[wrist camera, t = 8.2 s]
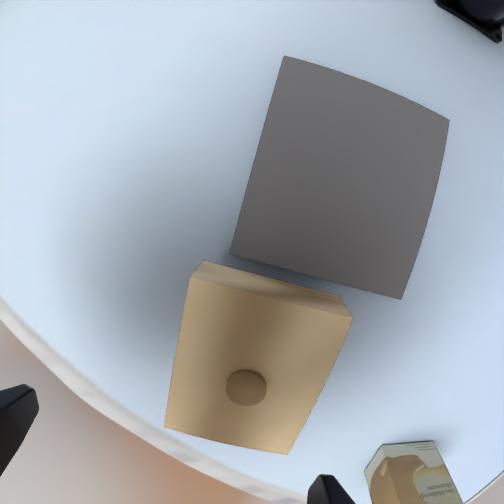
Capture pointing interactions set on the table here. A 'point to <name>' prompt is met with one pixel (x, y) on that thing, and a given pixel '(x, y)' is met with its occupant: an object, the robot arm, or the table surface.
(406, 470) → the skincare box
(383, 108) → the mat
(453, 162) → the table surface
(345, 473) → the table surface
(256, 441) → the lid
